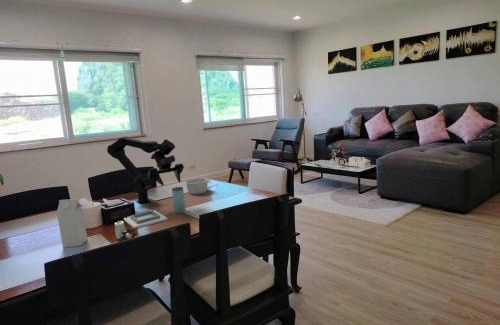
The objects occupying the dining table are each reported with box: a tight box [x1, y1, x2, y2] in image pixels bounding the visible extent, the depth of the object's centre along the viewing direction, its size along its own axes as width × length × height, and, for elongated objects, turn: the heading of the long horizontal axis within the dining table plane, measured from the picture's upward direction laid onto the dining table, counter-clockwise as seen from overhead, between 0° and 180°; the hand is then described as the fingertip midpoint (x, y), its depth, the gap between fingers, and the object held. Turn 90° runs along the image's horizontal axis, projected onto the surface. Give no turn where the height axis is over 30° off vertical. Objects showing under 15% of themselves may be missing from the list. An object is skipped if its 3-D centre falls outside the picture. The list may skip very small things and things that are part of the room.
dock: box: [123, 210, 168, 230], centre depth 168 cm, size 16×16×2 cm
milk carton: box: [56, 198, 88, 249], centre depth 143 cm, size 7×7×19 cm
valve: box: [114, 220, 138, 241], centre depth 145 cm, size 7×7×12 cm
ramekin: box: [185, 178, 208, 195], centre depth 213 cm, size 13×13×7 cm
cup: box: [171, 186, 186, 214], centre depth 177 cm, size 6×6×12 cm
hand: (171, 183), depth 182 cm, fingers open, 9 cm apart
